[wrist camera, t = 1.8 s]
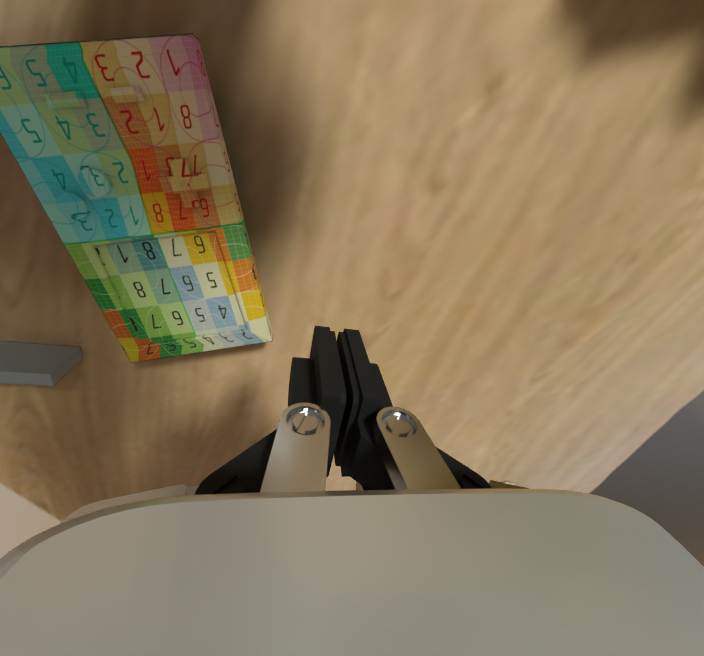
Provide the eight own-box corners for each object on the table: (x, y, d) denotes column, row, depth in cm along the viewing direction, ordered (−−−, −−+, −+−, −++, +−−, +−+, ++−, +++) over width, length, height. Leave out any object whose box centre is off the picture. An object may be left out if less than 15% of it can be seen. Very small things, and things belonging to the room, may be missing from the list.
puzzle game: (187, 27, 16) (271, 347, 26) (209, 51, 20) (275, 320, 30) (-62, 44, 15) (125, 369, 25) (14, 66, 19) (149, 339, 29)
